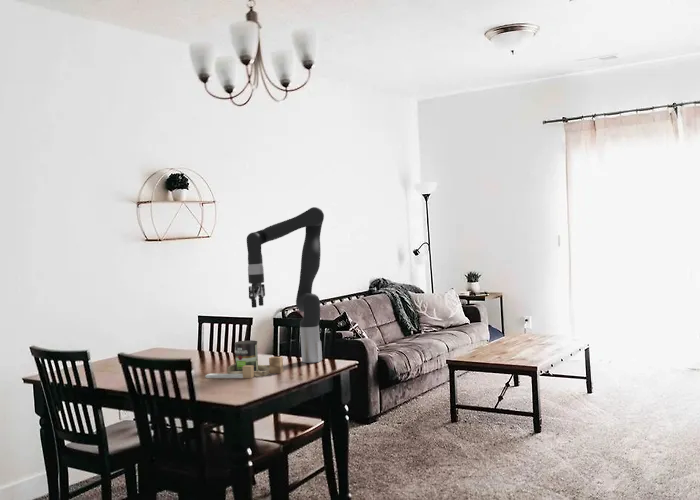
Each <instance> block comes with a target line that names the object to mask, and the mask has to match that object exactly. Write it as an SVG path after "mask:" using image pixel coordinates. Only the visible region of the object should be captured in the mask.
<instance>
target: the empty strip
mask: <svg viewBox="0 0 700 500" xmlns="http://www.w3.org/2000/svg"><path fill="white" fill-rule="evenodd" d="M242 369H243V374H227V373H207V374H205V378H206V379H253V378H254V377H255V376H254V365H245V366H243V367H242Z"/></svg>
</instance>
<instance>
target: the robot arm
mask: <svg viewBox="0 0 700 500" xmlns="http://www.w3.org/2000/svg"><path fill="white" fill-rule="evenodd" d="M324 218H325V214H324V212H323V210H322V208H319V207H310V208H308V209H307V210H305V211H303V212H302V213H299V214H298V215H296V216H293V217H291V218H288V219H287V220H283V221H279V222H277V223H275V224H272V225H269V226H266V227H265V228H262V229H260V230H257V231H253V232H250V233H248V235H247V236H246V247H247V249H246V250H247V264H248V265H247V273H248V274H247V275H248V277H247V278H248V279H247V280H248V284H251V286H248V299H250V300H251V308H253V309H255V308H257V307H258V306H260V307H261V306H262V307H263V306H264V297H266V290H265V289H266V288H265V284H263V283H265V273H264V264H263V253H262V245H263V244H266V243H268V242H271V241H275V240H277V239H280V238H283V237H285V236H287V235H290V234H291V233H293V232H295V231H297V230H300V229H302V228H305V235H304V241H303V245H302V249H301V250H302V252H301V261H300V274H299V283H298V287H297V289H298V290H297V294H296V298H295V305H296V308H297V309H298V310H299V312H303V318H302V319H301V320H300V321H299V329H300V330H299V331H300V347H301V348H300V349H301V351H300V352H301V363H307V364H312V363H314V364H315V363H320V362H322V360H323V351H322V349H323V348H322V341H321V339H320V337H321V336H320V321H321V302H320V298H319V295H317V294H315V293H313V291H312V290H313V283H314V280H315V278H316V276H317V275H318V272H319V269H320V265H321V232H322V226H323V223H324ZM257 297H258V303H257ZM257 304H258V305H257Z"/></svg>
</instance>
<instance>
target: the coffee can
mask: <svg viewBox="0 0 700 500" xmlns="http://www.w3.org/2000/svg"><path fill="white" fill-rule="evenodd" d="M234 352H235V364H236V371H243V369H242V367H243V366H245V365H254V371H259V370H258V365H259V357H258V354H259V353H258V341H257V340H254V339H253V340H252V339H251V340H240V341H236V342H234Z"/></svg>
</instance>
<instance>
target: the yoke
mask: <svg viewBox="0 0 700 500" xmlns="http://www.w3.org/2000/svg"><path fill="white" fill-rule="evenodd" d="M261 370H263V371H261ZM276 373H277V374H279V375H280V374H283V373H284V358H283V356H271V357H268V364H258V371H254V377H266V376H268V375H270V374H276ZM226 374H243V371H236V363H234V364H231V365H230V366H227V367H226Z"/></svg>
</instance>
